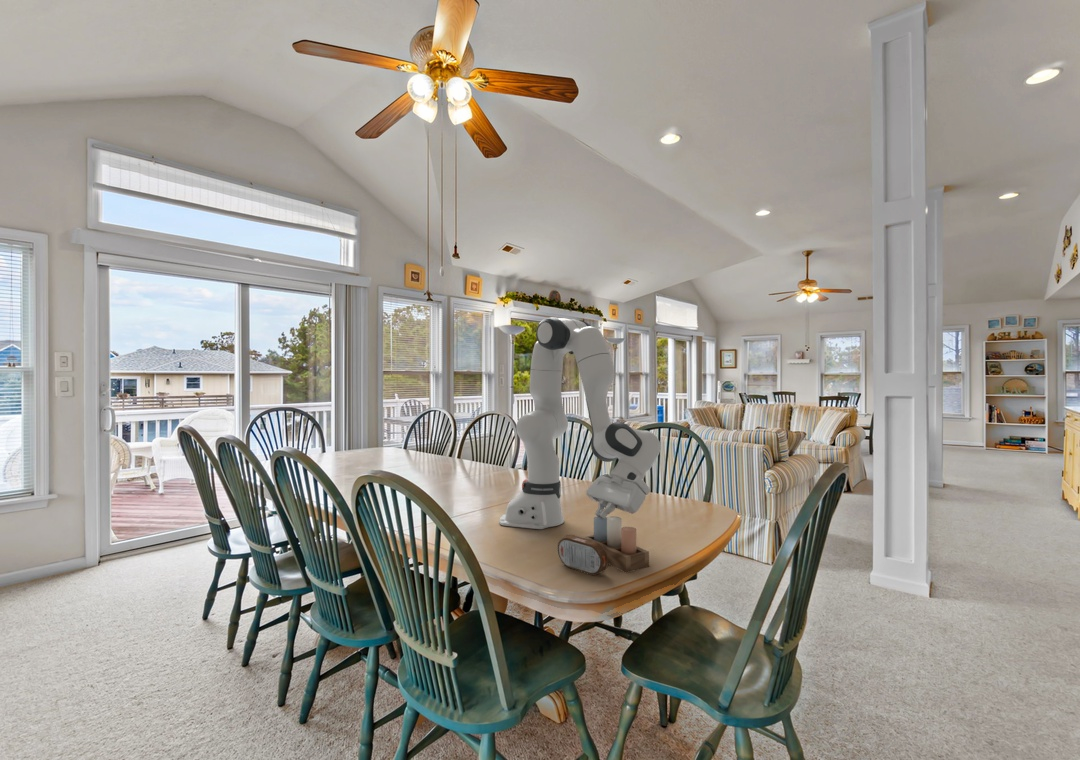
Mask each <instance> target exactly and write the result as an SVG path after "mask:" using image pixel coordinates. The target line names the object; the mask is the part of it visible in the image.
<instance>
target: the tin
mask: <svg viewBox="0 0 1080 760" xmlns="http://www.w3.org/2000/svg"><path fill="white" fill-rule="evenodd" d="M557 554H558V558H559V560H560V561H561V562H562V564H563V565H564V566H565V567H567V568H569V567H570V568H569V569H573V570H575V569H576V571H578V570H579V572H581V571H582V572H581V573H584V572H585V574H587V573H588V574H587V575H590V574H591V576H596V575H598V574H600V573H602V572H604V571H606V569H607V568H608V565H609V564H608V556H607V553H606V551H605V549H604V548H603V546H602V545H601V544H599V543H598V542H596V541H593V540H589V539H586V538H582V536H578V535H575V534H567V535H566V536H564V537H562V538H561V539H560V540H559V542H558V543H557Z"/></svg>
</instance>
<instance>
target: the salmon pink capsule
mask: <svg viewBox="0 0 1080 760" xmlns="http://www.w3.org/2000/svg"><path fill="white" fill-rule="evenodd" d="M636 546H637V528H636V527H632V526H624V527H623V526H622V528H621V552H622V553H624V554H627V555H631V554H635V553H636Z"/></svg>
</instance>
